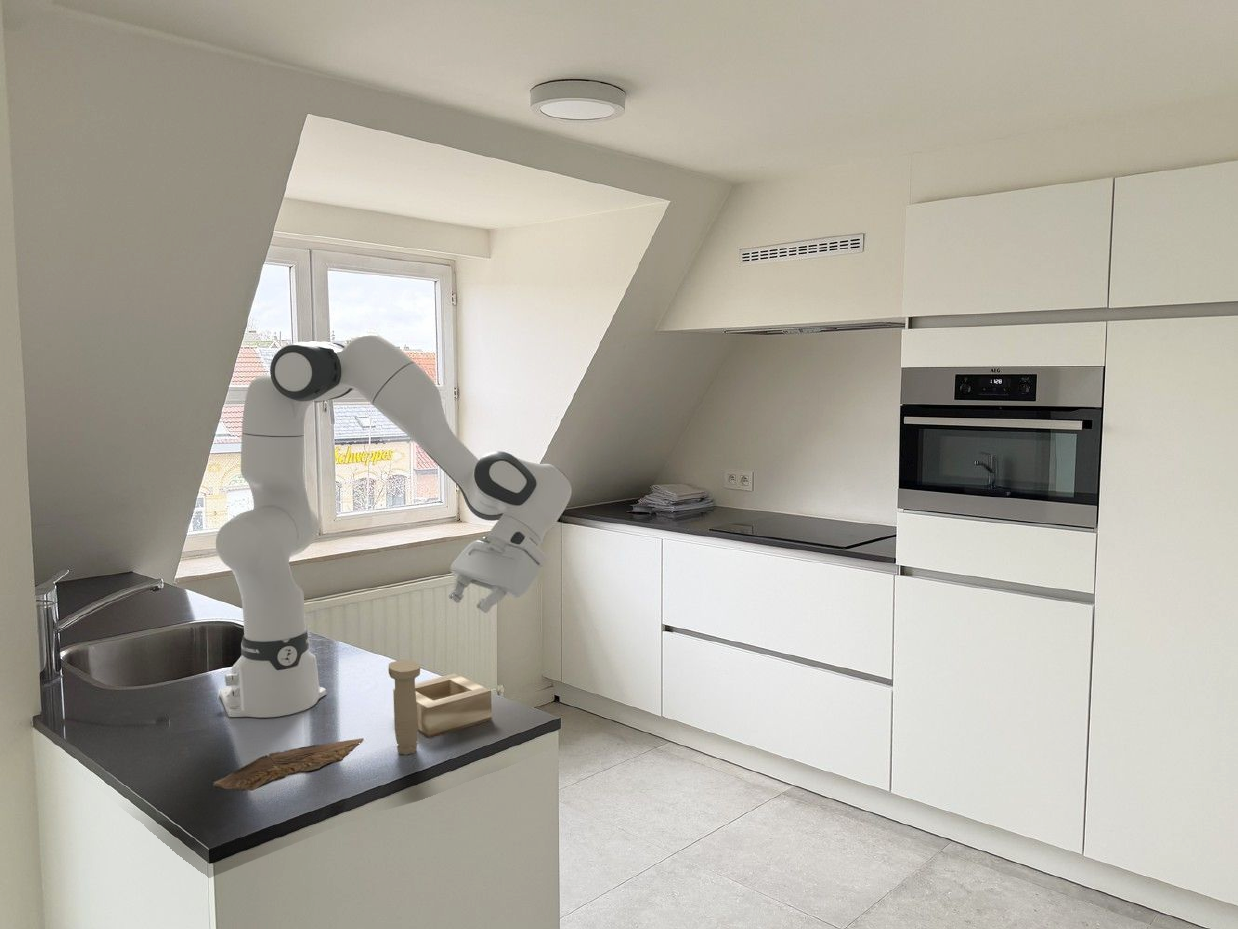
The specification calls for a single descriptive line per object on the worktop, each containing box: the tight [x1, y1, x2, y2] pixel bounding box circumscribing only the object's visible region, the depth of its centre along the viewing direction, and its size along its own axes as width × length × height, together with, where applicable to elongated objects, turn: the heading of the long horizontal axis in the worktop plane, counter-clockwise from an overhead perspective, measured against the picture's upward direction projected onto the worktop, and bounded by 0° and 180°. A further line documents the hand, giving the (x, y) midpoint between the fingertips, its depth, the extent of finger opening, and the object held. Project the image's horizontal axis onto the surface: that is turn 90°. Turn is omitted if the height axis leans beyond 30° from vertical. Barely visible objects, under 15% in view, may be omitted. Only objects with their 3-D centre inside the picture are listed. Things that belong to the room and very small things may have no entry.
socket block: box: [392, 673, 493, 739], centre depth 171 cm, size 13×13×6 cm
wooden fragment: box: [212, 738, 365, 791], centre depth 153 cm, size 26×11×1 cm, turn 132°
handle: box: [388, 659, 421, 756], centre depth 156 cm, size 5×6×15 cm
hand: (466, 605), depth 162 cm, fingers open, 8 cm apart
